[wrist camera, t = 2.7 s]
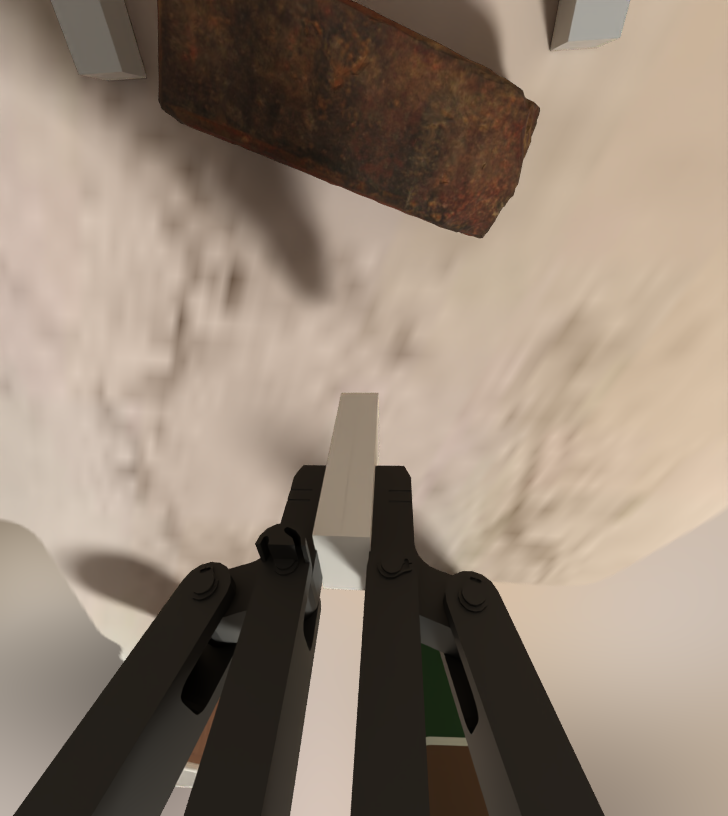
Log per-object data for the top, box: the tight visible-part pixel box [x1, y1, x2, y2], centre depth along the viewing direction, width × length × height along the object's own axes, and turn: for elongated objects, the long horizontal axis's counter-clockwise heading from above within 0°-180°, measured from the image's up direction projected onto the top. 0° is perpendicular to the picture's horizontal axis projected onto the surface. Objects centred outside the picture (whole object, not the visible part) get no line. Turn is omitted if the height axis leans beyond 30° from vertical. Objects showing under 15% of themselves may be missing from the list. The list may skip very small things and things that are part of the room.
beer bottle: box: [421, 643, 489, 816], centre depth 25 cm, size 8×8×24 cm
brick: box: [157, 0, 540, 238], centre depth 12 cm, size 11×4×5 cm, turn 71°
